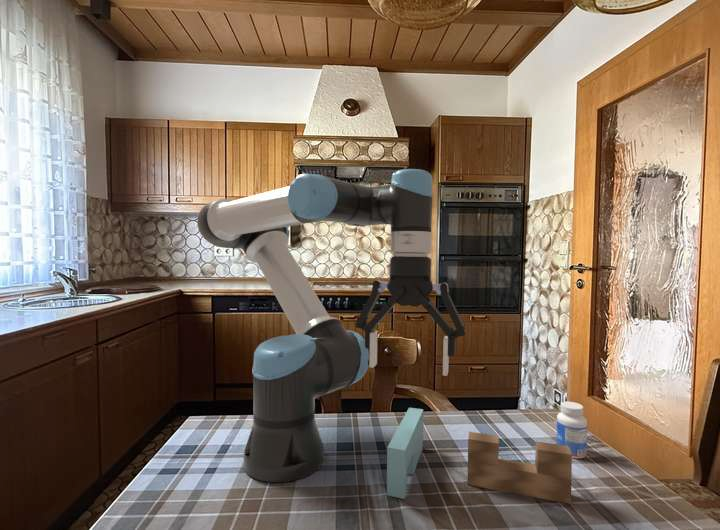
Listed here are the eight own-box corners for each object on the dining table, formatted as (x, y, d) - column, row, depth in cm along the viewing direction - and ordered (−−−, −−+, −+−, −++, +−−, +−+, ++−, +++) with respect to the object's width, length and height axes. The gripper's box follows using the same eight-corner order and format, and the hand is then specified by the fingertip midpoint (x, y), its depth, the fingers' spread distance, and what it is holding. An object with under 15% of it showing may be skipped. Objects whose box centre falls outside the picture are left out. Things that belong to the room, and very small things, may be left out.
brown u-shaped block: (467, 484, 67) (468, 438, 67) (468, 475, 70) (469, 431, 69) (571, 504, 62) (571, 454, 61) (567, 493, 64) (568, 445, 64)
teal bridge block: (386, 495, 64) (387, 447, 63) (408, 445, 81) (408, 407, 81) (404, 499, 63) (405, 450, 63) (422, 447, 80) (423, 409, 80)
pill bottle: (555, 443, 82) (556, 398, 82) (584, 449, 80) (585, 402, 79) (557, 455, 77) (558, 407, 77) (588, 461, 75) (589, 411, 74)
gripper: (340, 254, 71) (338, 367, 72) (481, 256, 64) (478, 383, 64) (353, 254, 78) (351, 357, 79) (481, 256, 71) (478, 371, 71)
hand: (408, 369), depth 72 cm, fingers open, 13 cm apart
